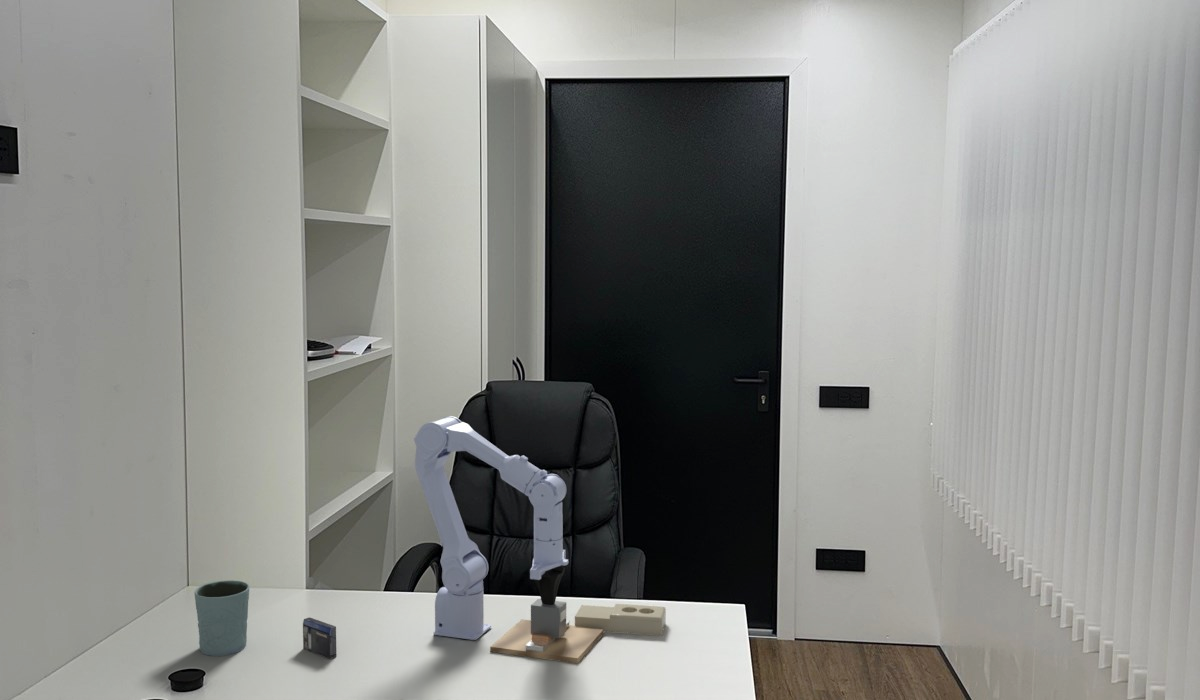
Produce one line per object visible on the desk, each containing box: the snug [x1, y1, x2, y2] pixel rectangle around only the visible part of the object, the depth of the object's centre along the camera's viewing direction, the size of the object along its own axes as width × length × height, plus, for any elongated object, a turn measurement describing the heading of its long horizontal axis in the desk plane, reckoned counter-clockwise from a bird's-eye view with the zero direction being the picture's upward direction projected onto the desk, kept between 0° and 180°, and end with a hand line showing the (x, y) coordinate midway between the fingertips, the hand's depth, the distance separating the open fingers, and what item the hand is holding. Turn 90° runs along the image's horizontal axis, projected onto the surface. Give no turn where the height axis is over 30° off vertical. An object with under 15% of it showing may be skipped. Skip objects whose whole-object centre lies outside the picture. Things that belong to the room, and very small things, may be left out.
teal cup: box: [194, 579, 250, 657], centre depth 199 cm, size 10×10×12 cm
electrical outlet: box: [574, 603, 667, 637], centre depth 212 cm, size 7×4×18 cm
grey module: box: [530, 598, 567, 638], centre depth 203 cm, size 6×4×6 cm, turn 72°
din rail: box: [526, 620, 570, 652], centre depth 203 cm, size 4×15×2 cm, turn 162°
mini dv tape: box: [302, 616, 338, 660], centre depth 197 cm, size 8×2×6 cm, turn 53°
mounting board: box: [489, 619, 605, 664], centre depth 203 cm, size 18×16×1 cm
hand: (548, 604), depth 203 cm, fingers closed, pressing on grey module
